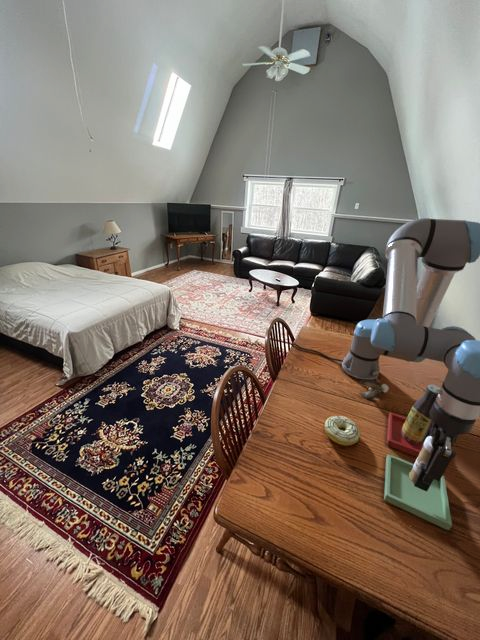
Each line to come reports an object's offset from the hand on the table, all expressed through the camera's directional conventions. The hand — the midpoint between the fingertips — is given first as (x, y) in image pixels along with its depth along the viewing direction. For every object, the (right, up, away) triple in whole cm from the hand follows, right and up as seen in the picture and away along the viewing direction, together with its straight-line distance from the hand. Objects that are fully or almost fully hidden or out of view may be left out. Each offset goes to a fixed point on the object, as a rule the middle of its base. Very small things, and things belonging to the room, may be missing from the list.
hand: (419, 478), depth 68 cm
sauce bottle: (+9, +3, +17) cm, 19 cm away
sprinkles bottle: (0, -1, 0) cm, 1 cm away
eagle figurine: (+6, +11, +36) cm, 39 cm away
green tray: (0, -4, +2) cm, 5 cm away
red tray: (+9, +3, +17) cm, 20 cm away
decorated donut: (-13, +4, +18) cm, 23 cm away
